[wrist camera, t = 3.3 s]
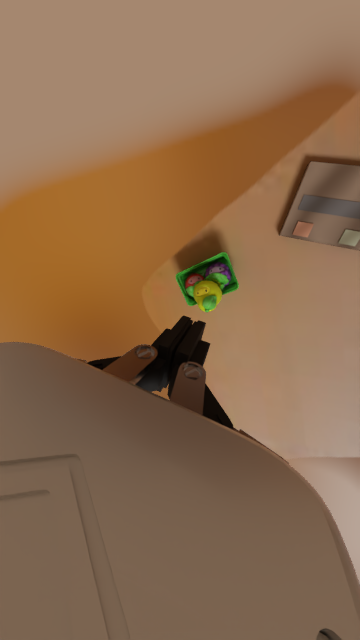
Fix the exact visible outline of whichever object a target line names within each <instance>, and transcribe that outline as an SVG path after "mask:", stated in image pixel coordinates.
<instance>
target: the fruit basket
mask: <svg viewBox="0 0 360 640" xmlns="http://www.w3.org/2000/svg"><path fill="white" fill-rule="evenodd" d="M176 280H177V282H178V284H179V287H180V289H181V291H182V293H183V295H184V298H185V300H186V302H187V304H188V305H189V306H193V305H196V304H198V306H199V308H200V309H201V310H202V311H205V312H210V311H212V310H214V309H215V308H216V306H217V304H218V303H219V302H220V300H221V297H222V295H224V294H227V293H229V292H232V291H235V290H237V289H238V287H239V284H238V282H237V279H236V276H235V274H234V271H233V268H232V265H231V263H230V260H229V257H228V255H227V253H225V252H222V253H220V254H218V255H215V256H213V257H211V258H209V259H207V260H205V261H203V262H201V263H199V264H196V265H194V266H192V267H190V268H188V269H186V270H184V271H182V272H179V273H177V274H176Z"/></svg>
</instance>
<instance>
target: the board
mask: <svg viewBox="0 0 360 640" xmlns="http://www.w3.org/2000/svg"><path fill="white" fill-rule="evenodd" d="M279 235H280V236H285V237H291V238H296V239H301V240H307V241H312V242H317V243H322V244H328V245H333V246H338V247H344V248H349V249H354V250H359V251H360V166H354V165H343V164H333V163H322V162H312V161H311V162H310V163H309V164H308V165H307V168H306V170H305V173H304V175H303V178H302V180H301V182H300V185H299V187H298V190H297V192H296V195H295V197H294V200H293V202H292V204H291V207H290V209H289V212H288V214H287V217H286V219H285V221H284V224H283V226H282V229H281V231H280V234H279Z"/></svg>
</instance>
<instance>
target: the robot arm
mask: <svg viewBox="0 0 360 640" xmlns="http://www.w3.org/2000/svg"><path fill="white" fill-rule="evenodd" d="M192 323H193V321H192V320H191V318H189V317H186V316H182V317H181V319H180V320H179V321H178V322H177V323H176V325H175V326H174V327H173V328H172V329H171V330H170V329H165V331H164V332H163V333H162V334H161V335H160V336H159V337H158V338H157V339H156V340H155V342H154V343H153V344H152V345H151V346H150V345H146V344H144V345H138V346H136V347H134V348H133V349H131V350H130V351H128V352H127V353H126V354H124V355H123V356H120V357H113V358H107V359H100V360H94V361H90V362H88V363H87V361H86V360H81V359H76V358H72V357H70V356H68V355H65V354H63V353H61V352H58V351H55V350H53V349H50V348H47V347H44V346H40V345H36V344H30V343H21V342H6V343H0V640H360V584H359V580H358V578H357V575H356V572H355V569H354V566H353V564H352V561H351V558H350V556H349V553H348V551H347V548H346V546H345V543H344V541H343V538H342V536H341V533H340V531H339V529H338V527H337V524H336V522H335V520H334V518H333V516H332V514H331V512H330V510H329V509H328V507H327V505H326V504H325V502H324V501H323V499H322V498H321V497H320V495H319V494H318V493H317V491H316V490H315V489H314V488H313V487H312V486H311V485H310V483H308V481H307V480H305V478H304V477H303V476H302V475H300V473H298V472H297V471H296V470H295V469H294V468H293V467H291V466H290V465H289V463H288V462H287V461H285V460H284V459H283V458H282V457H280V456H279V455H278V454H276V453H275V452H273V451H272V450H270V449H269V448H267V447H266V446H264V445H263V444H261V443H260V442H259V441H257V440H256V439H254V438H253V437H251V436H250V435H248V434H247V433H245V432H244V431H242V430H241V429H240V430H239V431H238V430H237V429H235V428H234V427H233V424H232V423H231V421H230V419H229V417H228V416H227V415H226V413H225V412H224V410H223V409H222V407H221V406H220V404H219V403H218V401H217V400H216V398H215V397H214V395H213V394H212V392H211V391H210V389H209V388H208V387H207V385H206V384H205V380H206V372H205V370H204V368H203V364H204V362H205V359H206V356H207V352H208V349H209V346H210V343H208V342H205V341H202V340H201V339H202V335H203V331H204V328H205V324H206V323H205V322H202V321H199V320H198V322H194V323H193V325H192ZM168 384H169V386H168V396H169V399H170V401H169V400H167V399H165V398H163V397H160V396H158V395H156V394H154V393H152V391H156V390H157V391H159V392H161V390H162V388H163V387H164V388H166V387H167V385H168Z"/></svg>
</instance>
